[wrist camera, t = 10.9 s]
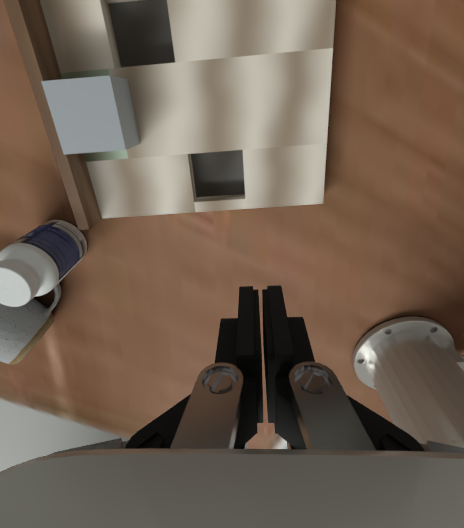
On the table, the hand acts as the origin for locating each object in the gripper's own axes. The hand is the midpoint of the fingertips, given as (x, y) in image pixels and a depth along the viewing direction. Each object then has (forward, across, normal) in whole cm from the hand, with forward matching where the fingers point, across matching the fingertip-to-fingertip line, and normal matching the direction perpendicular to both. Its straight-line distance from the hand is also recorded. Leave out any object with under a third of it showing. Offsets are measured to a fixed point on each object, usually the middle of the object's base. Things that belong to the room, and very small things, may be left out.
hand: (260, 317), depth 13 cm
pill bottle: (+21, +21, +4) cm, 30 cm away
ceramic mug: (+21, +28, +11) cm, 37 cm away
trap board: (+21, +5, -8) cm, 23 cm away
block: (+18, +12, -8) cm, 24 cm away
